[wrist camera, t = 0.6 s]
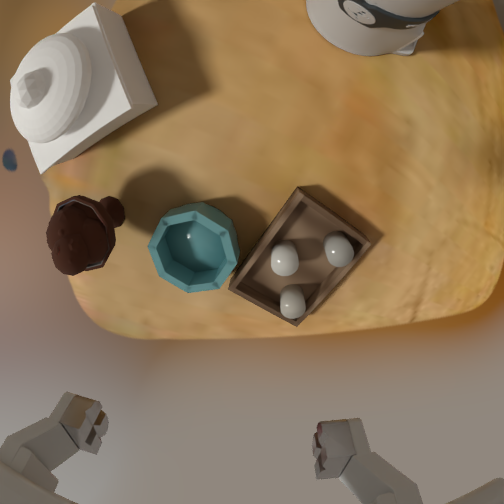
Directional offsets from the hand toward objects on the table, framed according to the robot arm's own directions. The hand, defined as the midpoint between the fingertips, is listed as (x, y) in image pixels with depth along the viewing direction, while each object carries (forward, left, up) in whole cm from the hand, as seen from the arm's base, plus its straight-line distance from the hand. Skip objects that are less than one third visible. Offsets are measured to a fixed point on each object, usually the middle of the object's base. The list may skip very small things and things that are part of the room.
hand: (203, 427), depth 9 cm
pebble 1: (+6, +9, -34) cm, 36 cm away
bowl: (+12, -3, -35) cm, 37 cm away
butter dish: (-1, -30, -35) cm, 46 cm away
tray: (+6, +11, -35) cm, 37 cm away
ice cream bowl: (+16, -18, -35) cm, 42 cm away
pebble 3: (0, +14, -34) cm, 37 cm away
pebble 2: (+11, +14, -34) cm, 39 cm away
